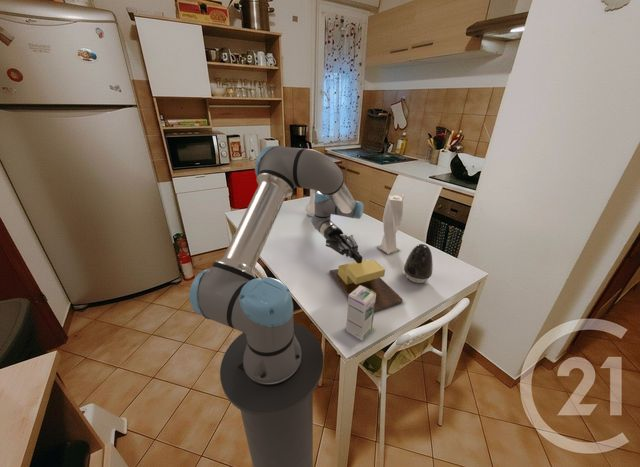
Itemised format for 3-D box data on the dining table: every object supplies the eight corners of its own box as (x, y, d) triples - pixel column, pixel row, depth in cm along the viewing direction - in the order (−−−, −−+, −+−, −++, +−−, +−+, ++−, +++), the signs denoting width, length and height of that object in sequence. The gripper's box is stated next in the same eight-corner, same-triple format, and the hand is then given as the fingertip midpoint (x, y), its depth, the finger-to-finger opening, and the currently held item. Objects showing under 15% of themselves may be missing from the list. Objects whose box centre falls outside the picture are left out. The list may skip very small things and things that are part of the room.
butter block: (346, 284, 97) (347, 276, 95) (337, 274, 102) (338, 265, 100) (373, 276, 101) (375, 268, 99) (364, 267, 107) (364, 259, 105)
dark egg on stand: (404, 285, 99) (411, 251, 92) (400, 269, 108) (406, 237, 101) (432, 288, 98) (442, 253, 91) (426, 271, 107) (434, 239, 100)
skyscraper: (401, 251, 120) (411, 193, 107) (388, 256, 117) (397, 197, 104) (388, 244, 127) (396, 188, 114) (375, 248, 123) (382, 191, 110)
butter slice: (355, 284, 90) (356, 277, 89) (345, 273, 96) (346, 266, 94) (384, 276, 94) (385, 269, 93) (373, 266, 100) (374, 259, 99)
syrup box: (361, 341, 76) (366, 303, 69) (345, 330, 79) (348, 293, 73) (372, 329, 80) (377, 292, 73) (355, 320, 83) (359, 283, 77)
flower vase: (310, 222, 147) (310, 178, 135) (297, 211, 162) (296, 170, 150) (330, 218, 152) (332, 176, 141) (316, 207, 167) (317, 168, 155)
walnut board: (362, 316, 85) (363, 312, 84) (329, 273, 105) (329, 270, 104) (402, 302, 91) (402, 299, 90) (363, 264, 111) (363, 261, 110)
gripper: (344, 237, 119) (373, 264, 100) (317, 243, 114) (344, 272, 96) (345, 222, 116) (376, 247, 97) (318, 227, 111) (345, 255, 92)
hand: (360, 260), depth 96 cm, fingers closed
